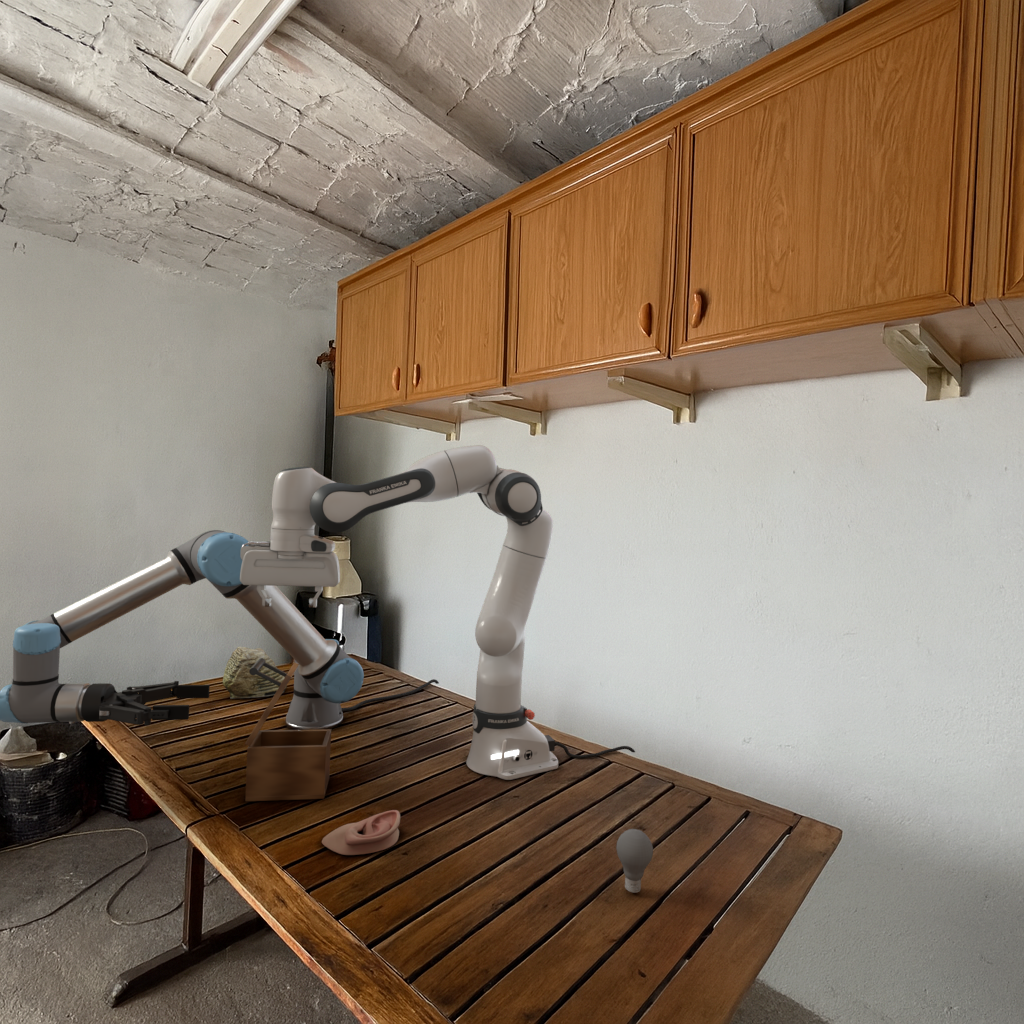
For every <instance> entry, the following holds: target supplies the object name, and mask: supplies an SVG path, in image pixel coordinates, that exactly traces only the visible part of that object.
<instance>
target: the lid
mask: <svg viewBox="0 0 1024 1024" xmlns="http://www.w3.org/2000/svg"><path fill="white" fill-rule="evenodd" d="M263 666H265V667H267V668H268V669H270V670H272V671H274V672H276V673H278V674H280V675H282V676H284V677H285V678H284V680H283V682H282V683H281V682H279V681H278V680H276V679H274V678H272V677H270V676H268V675H266V674H264V673H262V672H260V671H259V670H260V669H261V668H262V667H263ZM298 666H299V664H297V663H295V662H294V663H293V664H292V665H291V667H290V668H289V670H288V672H285V671H284V670H281V669H279V668H278V667H277V666H276V667H274V666H272V665H270V664H268V663H266V662H265V659H263V658H260V659H259V660H258V661H257V662H256V663H255V664H254V665H253V666H252V668H251V669H250V670H249V673H250V674H251V675H258V676H260V677H262V678H264V679H266V680H268V681H270V682H272V683H274V684H276V685H278V686H280V687H279V688H278V690H277V692H276V693H275V695H273V697H272V698H271V700H270V701H269V703H268V705H267V707H265V709H264V711H263V713H262V715H261V716H260V718H259V720H258V721H257V723H256V725H255V727H254V728H253V729H252V731H251V733H250V734H249V736H248V738H247V740H246V741H245V743H244V744H245V745H246V746H251V744H252V742H253V741H254V739H255V737H256V736H257V734H258V732H259V731H260V730H261V729H262V727H263V726H264V724H265V723H266V721H267V719H268V717H269V716H270V714H271V712H272V711H273V709H274V707H275V705H276V704H277V703H278V701H279V699H280V697H281V696H282V694H283V693H284V692H285V691H284V689H285V687H286V686H287V687H288V684H289V683H290V681H291V679H292V678H293V677H294V672H295V671H296V669H297V668H298ZM277 668H278V669H277ZM287 687H286V688H287ZM283 691H284V692H283ZM282 692H283V693H282Z"/></svg>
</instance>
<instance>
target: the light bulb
mask: <svg viewBox="0 0 1024 1024" xmlns="http://www.w3.org/2000/svg"><path fill="white" fill-rule="evenodd" d="M615 849H616V854H617V857H618V859H619V861H620V863H621V865H622V867H623V873H624V874H623V875H624V876H625V878H624V888H625V890H627V891H628V892H630V893H634V894H635V893H639V892H640V891H641V889H642V887H641V886H642V879H643V877H644V875H645V871H646V868H647V867H648V866H649V864H650V863H651V861H652V859H653V855H654V847H653V843H652V841H651V838H649V836H648V835H647V834H646V833H645V832H643V831H642V830H641V829H636V828H629V829H627V830H625V831H623V832H622V833H621V834H620V835H619V837H618V839H617V841H616V847H615Z"/></svg>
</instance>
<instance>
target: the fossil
mask: <svg viewBox="0 0 1024 1024" xmlns="http://www.w3.org/2000/svg"><path fill="white" fill-rule="evenodd" d="M260 658H263V659H265V662H266V663H268V664H270V665H272V666H274V667H276V668H277V669H279V668H278V667H277V665H276V663H275V662H274V660H273V659H272V658H271V657H270V656H269V655H268V654H267V653H266V652H265V650H264V649H263V648H260V647H258V648H251V647H247V646H246V647H245V646H238V647H237V648H236V649H235V650H233V651H232V653H231V656H230V657H229V659H228V660H227V663H226V666H225V668H224V671H223V675H222V676H223V677H222V685H223V687H224V688H225V690H226V691H228V693H229V698H230V699H250V698H264V697H271V696H274V695H275V693H276V692H277V690H278V688H279V687H280V686H278V685H276V684H274V683H272V682H270V681H268V680H266V679H264V678H262V677H260V676H258V675H251V674H250V673H249V670H250V669H251V668H252V666H253V665H254V664H255V663H256V662H257V661H258V660H259V659H260ZM259 671H260V672H262V673H264V674H266V675H268V676H270V677H272V678H274V679H276V680H278V681H279V682H281V683H282V682H283V680H284V678H285V677H284V676H282V675H280V674H278V673H276V672H274V671H272V670H270V669H268V668H267V667H265V666H263V667H262V668H261V669H260V670H259ZM287 687H288V685H287V686H286V687H285V689H284V691H283V692H282V694H284V693H285V691H286V689H287Z"/></svg>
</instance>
